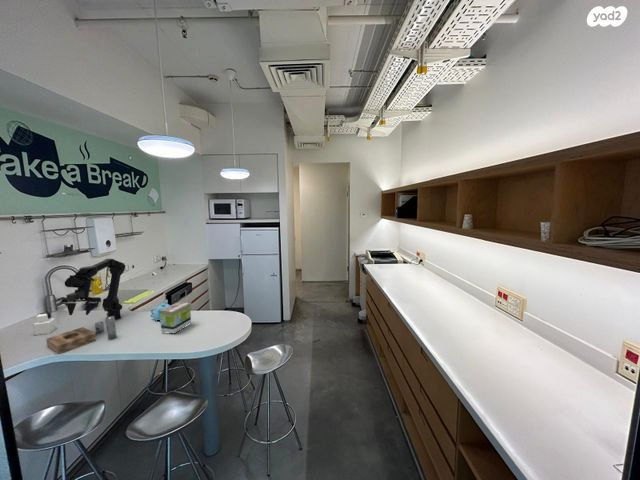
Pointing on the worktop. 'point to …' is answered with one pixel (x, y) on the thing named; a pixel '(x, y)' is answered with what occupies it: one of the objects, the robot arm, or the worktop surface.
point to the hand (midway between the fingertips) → (78, 315)
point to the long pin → (111, 327)
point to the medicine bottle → (44, 324)
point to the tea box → (175, 317)
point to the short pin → (99, 327)
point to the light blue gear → (158, 310)
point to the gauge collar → (70, 340)
